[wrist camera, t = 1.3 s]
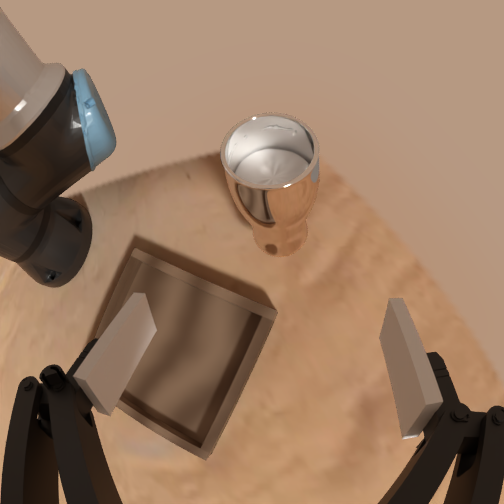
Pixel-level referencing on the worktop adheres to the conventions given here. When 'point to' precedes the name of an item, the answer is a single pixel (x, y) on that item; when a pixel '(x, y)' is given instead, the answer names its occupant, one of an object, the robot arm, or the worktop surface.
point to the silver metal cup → (273, 178)
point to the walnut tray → (188, 352)
